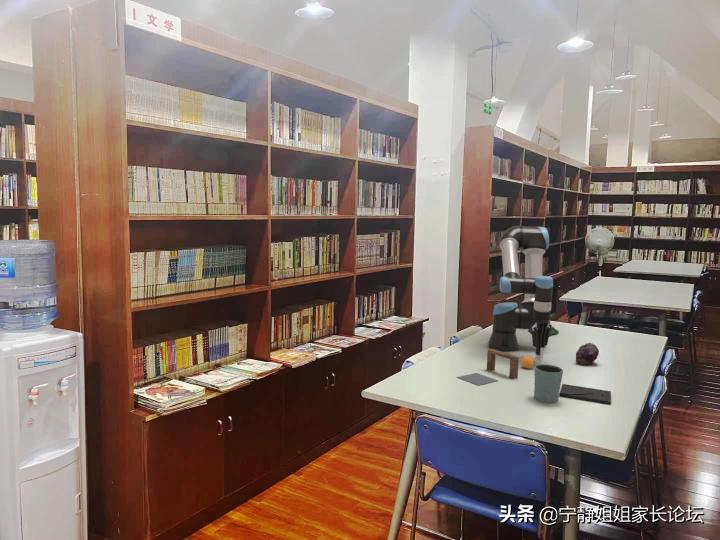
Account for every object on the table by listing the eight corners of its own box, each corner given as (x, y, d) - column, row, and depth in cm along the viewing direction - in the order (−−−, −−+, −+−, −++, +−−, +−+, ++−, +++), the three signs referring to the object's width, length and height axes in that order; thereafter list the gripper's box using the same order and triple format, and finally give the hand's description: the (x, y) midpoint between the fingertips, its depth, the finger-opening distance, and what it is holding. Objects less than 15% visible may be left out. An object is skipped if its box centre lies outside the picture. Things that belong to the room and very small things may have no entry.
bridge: (512, 379, 224) (514, 357, 223) (486, 370, 236) (487, 349, 235) (517, 377, 226) (519, 356, 225) (491, 369, 237) (492, 348, 236)
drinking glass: (540, 392, 208) (542, 362, 206) (565, 399, 201) (568, 368, 199) (527, 398, 201) (529, 367, 199) (553, 406, 193) (555, 373, 192)
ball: (518, 367, 241) (519, 355, 240) (526, 365, 244) (526, 353, 244) (528, 370, 237) (529, 358, 236) (536, 368, 240) (537, 356, 239)
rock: (571, 366, 250) (595, 370, 244) (571, 348, 248) (595, 351, 242) (579, 357, 260) (602, 360, 253) (579, 339, 258) (602, 342, 251)
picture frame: (559, 398, 204) (610, 406, 196) (559, 392, 204) (610, 401, 196) (562, 388, 216) (610, 396, 208) (562, 383, 216) (611, 390, 208)
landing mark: (456, 377, 224) (456, 377, 224) (476, 373, 230) (476, 372, 230) (478, 385, 214) (478, 385, 214) (498, 381, 221) (498, 380, 221)
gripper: (540, 313, 235) (537, 365, 238) (558, 310, 243) (554, 361, 245) (526, 310, 241) (523, 361, 244) (543, 308, 249) (540, 357, 251)
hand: (538, 361), depth 244 cm, fingers closed
